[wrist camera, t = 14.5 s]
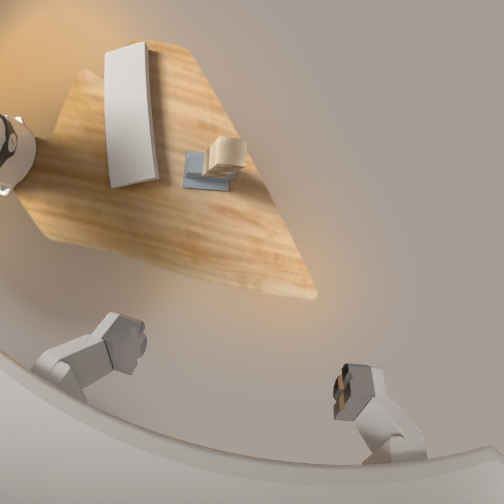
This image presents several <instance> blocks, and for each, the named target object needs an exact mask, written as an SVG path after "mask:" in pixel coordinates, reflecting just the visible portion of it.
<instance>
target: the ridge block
mask: <svg viewBox="0 0 504 504" xmlns="http://www.w3.org/2000/svg"><path fill="white" fill-rule="evenodd" d="M203 156H204V153H199V152H189V151H187V152H186V160H185V170H184V182H183V188H195V189H208V190H221V191H228V188H229V180H232V179H234V178H236V177H237V173H238V171H236V172H234V173H232V174H230V175H229V176H227V177H225V178H218V177H207V176H202V167H203Z"/></svg>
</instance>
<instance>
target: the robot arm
mask: <svg viewBox="0 0 504 504" xmlns="http://www.w3.org/2000/svg"><path fill="white" fill-rule="evenodd" d="M35 154H36V141H35V137H34V135H33V133H32V132H31V131H30V130H29V129H28V128H27V127H26V126H25V124H24V120H23V119H22V118H21V117H16V118H13V117H11V116H9V115H6V116H3V115H1V114H0V195H3V196H9V195H10V194H11V192H12V190H13V189H14V187H15V185H16V184H17V183H19V182H20V181H21V180H22V179H23V178H24V177H25V176H26V175H27V173H28V172H29V170H30V168H31V167H32V164H33V162H34V159H35ZM3 188H4V191H2V190H3ZM144 329H145V326H144V322H142V321H139V320H137V319H133V318H131V317H128V316H125V315H122V314H119V313H116V312H113V311H111V312H110V313H108V314H107V315H106V317H105V318H104V319H103V320H102V322H101V323H100V324H99V325H98V326H97V328H96V329H95V330H94V332H93V333H92V334H91V335H90V334H87V335H84V336H81V337H79V338H77V339H74V340H72V341H69V342H67V343H64V344H62V345H59V346H57V347H54V348H52V349H49V350H46V351H45V352H44V353H43V354H42V355H41V357H40V358H39V359H38V360H37V362H36V363H35V364H34V365H33V366H32V368H31V369H30V370H29V369H27V368H26V367H24V366H23V365H21V364H20V363H18V362H17V361H16V360H14V359H13V358H11V357H10V356H9V355H7V354H6V353H5V352H3V351H2V350H1V349H0V504H504V455H503V454H501V453H500V452H499V451H498V450H497V449H496V448H494V447H492V446H485V447H481V448H478V449H474V450H470V451H466V452H463V453H457V454H453V455H448V456H443V457H438V458H431V459H427V453H426V447H425V442H424V436H423V433H422V432H421V431H420V430H419V429H418V428H417V427H416V425H415V424H414V423H413V422H412V421H411V420H410V419H409V418H408V417H407V415H406V414H405V413H404V412H403V411H402V410H401V409H400V408H399V407H398V405H397V404H396V403H395V402H394V401H393V400H392V399H391V398H388V396H387V391H386V386H385V381H384V376H383V372H382V368H381V367H380V366H368V365H358V364H348V363H346V364H345V365H344V366H343V368H342V374H341V375H339V376H338V377H337V379H336V381H335V384H334V389H333V398H334V399H335V400H336V401H337V402H336V403H335V405H334V420H345V421H353V423H354V425H355V426H356V428H357V429H358V431H359V433H360V434H361V435H362V437H363V439H364V440H365V442H366V444H367V445H368V447H369V449H370V450H371V452H372V453H373V454H372V455H370V456H369V457H368V458H367V459H366V460H364V461H363V462H362V465H325V464H308V463H295V462H285V461H277V460H270V459H263V458H257V457H251V456H245V455H240V454H235V453H230V452H225V451H221V450H216V449H211V448H208V447H204V446H200V445H196V444H193V443H189V442H186V441H182V440H179V439H175V438H172V437H169V436H166V435H163V434H160V433H157V432H154V431H151V430H148V429H146V428H143V427H140V426H138V425H135V424H132V423H130V422H127V421H125V420H123V419H120V418H118V417H116V416H113V415H111V414H109V413H107V412H104V411H102V410H100V409H98V408H96V407H94V406H92V405H90V404H88V403H86V402H87V399H86V397H85V395H84V393H83V391H82V389H83V388H85V387H87V386H88V385H90V384H92V383H93V382H95V381H97V380H98V379H100V378H102V377H103V376H105V375H107V374H108V373H110V372H111V371H113V369H114V370H117V371H120V372H123V373H126V374H128V375H131V374H132V373H133V371H134V369H135V367H136V366H137V360H136V359H138V358H140V357H141V356H142V355H143V354H144V352H145V348H146V344H147V339H146V335H145V334H144V333H143V330H144Z"/></svg>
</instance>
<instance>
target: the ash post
mask: <svg viewBox="0 0 504 504" xmlns="http://www.w3.org/2000/svg"><path fill="white" fill-rule="evenodd" d="M246 149H247V140H244V139H238V138H231V137H224V136H219V137H218V139H217V140H216V141H215V142H214V143H213V144H212V145H211V146H210V147H209V149H208V150H207V151H206V152H205V153H204V156H203V167H202V176H207V177H218V178H225V177H227V176H229V175H230V174H232V173H234V172H236V171H238V170H240V169H242V168H244V167H245V164H246Z"/></svg>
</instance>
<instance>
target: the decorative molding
mask: <svg viewBox="0 0 504 504" xmlns="http://www.w3.org/2000/svg"><path fill="white" fill-rule="evenodd" d="M104 73H105V74H104V106H105V130H106V145H107V157H108V167H109V176H110V184H111V188H118V187H122V186H128V185H132V184H137V183H142V182H148V181H154V180H159V179H160V178H159V171H158V163H157V155H156V146H155V137H154V128H153V117H152V105H151V92H150V76H149V54H148V47H147V45H146V43H145V41H143V42H139V43H136V44H132V45H129V46H126V47H123V48H119V49H117V50H113V51H111V52H108V53H105V69H104Z"/></svg>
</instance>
